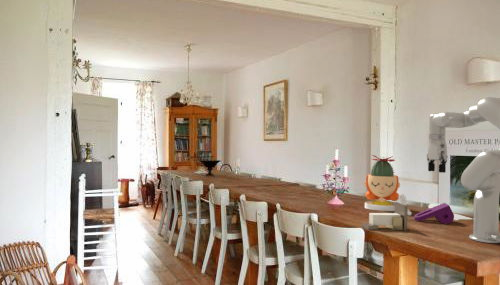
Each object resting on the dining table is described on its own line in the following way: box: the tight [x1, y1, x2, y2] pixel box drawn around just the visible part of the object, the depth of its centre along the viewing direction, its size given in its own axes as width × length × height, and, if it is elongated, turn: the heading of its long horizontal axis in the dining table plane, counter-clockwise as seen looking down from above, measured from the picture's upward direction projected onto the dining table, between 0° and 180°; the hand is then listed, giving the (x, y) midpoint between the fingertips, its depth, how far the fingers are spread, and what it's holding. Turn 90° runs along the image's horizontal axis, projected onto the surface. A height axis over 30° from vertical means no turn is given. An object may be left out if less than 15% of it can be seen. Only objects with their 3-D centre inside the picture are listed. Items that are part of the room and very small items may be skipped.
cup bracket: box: [384, 201, 409, 231], centre depth 194 cm, size 11×7×12 cm, turn 4°
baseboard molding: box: [425, 207, 473, 222], centre depth 233 cm, size 31×3×12 cm
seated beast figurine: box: [398, 193, 413, 216], centre depth 236 cm, size 10×9×12 cm
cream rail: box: [368, 212, 401, 226], centre depth 194 cm, size 14×5×5 cm, turn 94°
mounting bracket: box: [413, 202, 454, 225], centre depth 215 cm, size 10×9×19 cm
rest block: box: [361, 221, 379, 231], centre depth 194 cm, size 8×5×2 cm, turn 4°
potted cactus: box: [363, 154, 401, 212], centre depth 257 cm, size 22×22×35 cm
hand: (436, 171), depth 198 cm, fingers open, 9 cm apart
